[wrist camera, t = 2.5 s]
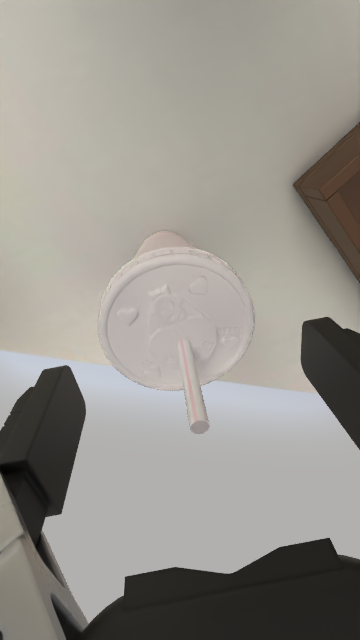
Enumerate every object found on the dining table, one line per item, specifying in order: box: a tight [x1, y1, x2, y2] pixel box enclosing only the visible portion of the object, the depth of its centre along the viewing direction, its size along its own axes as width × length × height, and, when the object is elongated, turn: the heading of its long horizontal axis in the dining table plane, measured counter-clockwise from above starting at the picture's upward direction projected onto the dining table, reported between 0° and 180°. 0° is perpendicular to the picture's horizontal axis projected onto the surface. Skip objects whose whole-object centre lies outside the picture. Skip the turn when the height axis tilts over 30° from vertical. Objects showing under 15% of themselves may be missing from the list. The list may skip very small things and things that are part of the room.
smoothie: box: [98, 231, 255, 434], centre depth 14 cm, size 6×6×14 cm
